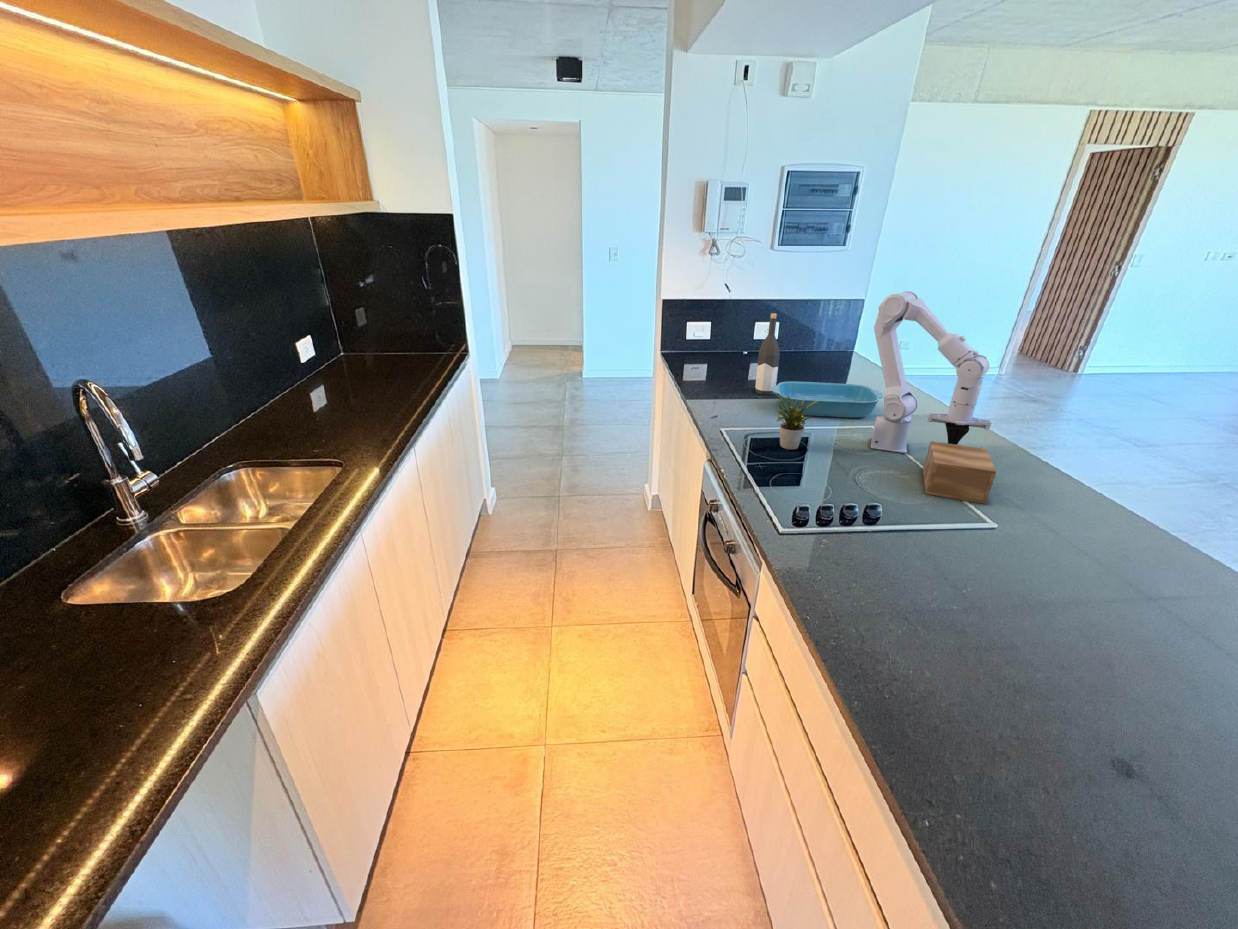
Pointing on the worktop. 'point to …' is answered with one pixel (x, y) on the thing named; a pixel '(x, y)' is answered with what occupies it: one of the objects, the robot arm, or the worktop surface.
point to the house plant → (792, 424)
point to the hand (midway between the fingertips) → (950, 449)
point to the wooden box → (958, 472)
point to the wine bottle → (768, 361)
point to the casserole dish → (829, 398)
